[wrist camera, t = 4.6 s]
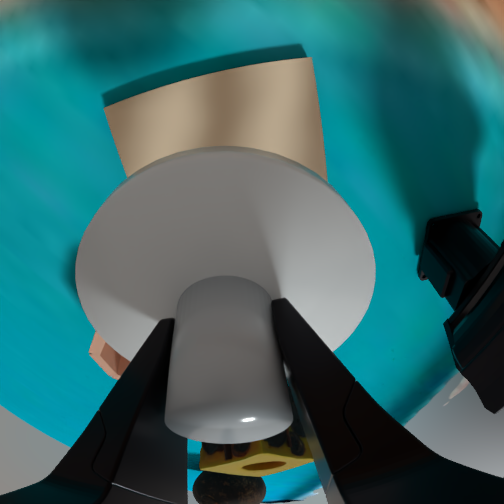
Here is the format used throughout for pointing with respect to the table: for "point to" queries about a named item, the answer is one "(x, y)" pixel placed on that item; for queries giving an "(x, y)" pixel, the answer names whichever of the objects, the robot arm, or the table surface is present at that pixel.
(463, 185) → the table surface
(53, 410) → the table surface
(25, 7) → the table surface
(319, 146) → the mat
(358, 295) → the lid
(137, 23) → the table surface
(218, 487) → the dark brown vase
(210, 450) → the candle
